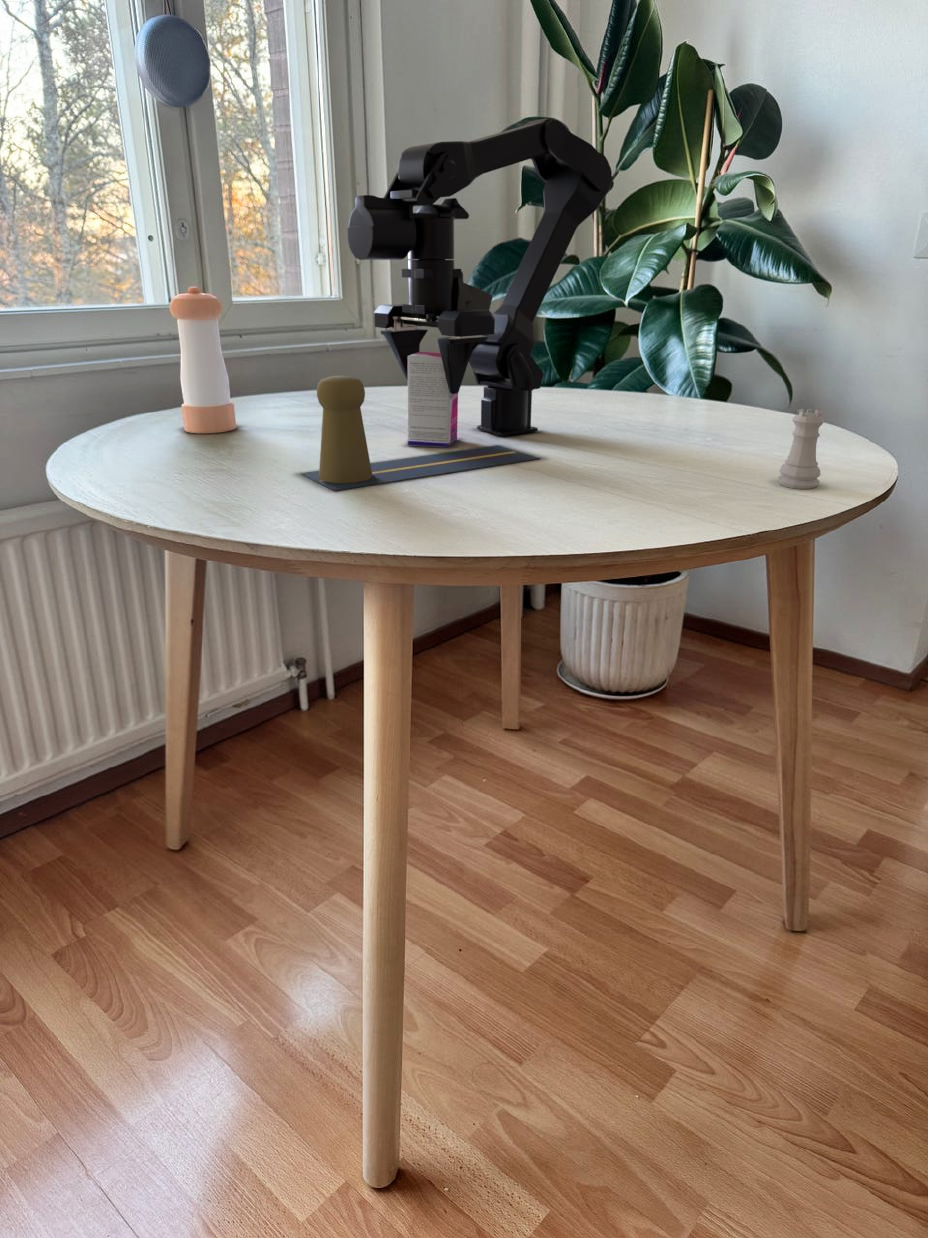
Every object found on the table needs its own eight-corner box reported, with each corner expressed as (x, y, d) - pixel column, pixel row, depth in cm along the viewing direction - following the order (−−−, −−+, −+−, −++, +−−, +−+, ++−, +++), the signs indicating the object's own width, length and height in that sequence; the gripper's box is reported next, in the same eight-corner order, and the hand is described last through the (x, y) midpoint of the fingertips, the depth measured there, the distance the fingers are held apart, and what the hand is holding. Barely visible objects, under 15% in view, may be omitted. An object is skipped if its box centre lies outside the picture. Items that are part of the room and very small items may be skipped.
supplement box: (450, 448, 109) (450, 356, 104) (406, 445, 110) (404, 355, 105) (459, 439, 114) (459, 351, 109) (417, 437, 115) (415, 350, 110)
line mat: (497, 445, 110) (497, 445, 110) (540, 458, 103) (540, 457, 103) (300, 474, 96) (300, 473, 96) (334, 491, 89) (334, 490, 89)
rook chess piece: (814, 491, 89) (828, 416, 86) (771, 486, 91) (783, 411, 88) (822, 482, 92) (836, 409, 89) (781, 477, 95) (792, 405, 91)
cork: (320, 470, 97) (314, 373, 92) (372, 469, 97) (368, 372, 93) (316, 483, 91) (309, 380, 87) (372, 482, 92) (367, 379, 87)
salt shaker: (233, 432, 118) (218, 287, 110) (180, 434, 117) (160, 287, 109) (238, 423, 124) (223, 285, 117) (188, 424, 123) (170, 285, 116)
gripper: (530, 259, 101) (526, 392, 107) (439, 259, 114) (440, 376, 120) (457, 260, 94) (457, 400, 101) (369, 259, 108) (375, 383, 114)
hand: (433, 389), depth 109 cm, fingers open, 9 cm apart
